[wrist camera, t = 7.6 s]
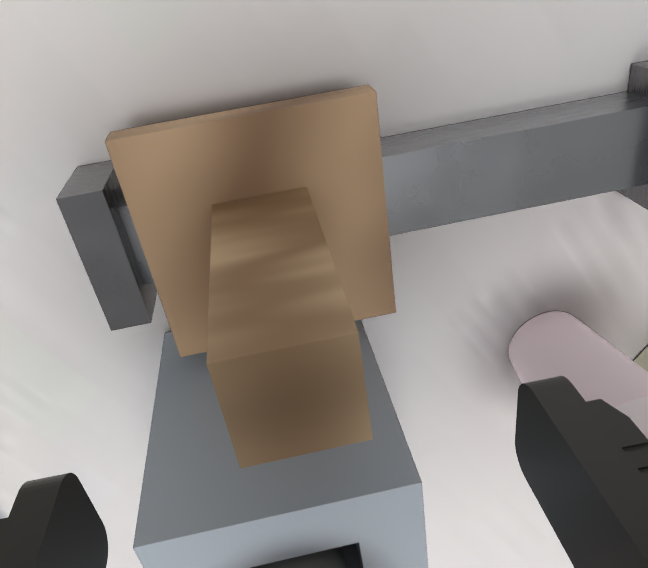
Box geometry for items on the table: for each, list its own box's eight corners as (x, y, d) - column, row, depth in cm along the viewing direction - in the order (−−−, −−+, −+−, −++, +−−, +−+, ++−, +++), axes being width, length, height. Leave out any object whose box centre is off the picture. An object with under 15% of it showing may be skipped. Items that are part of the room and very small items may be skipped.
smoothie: (592, 386, 29) (845, 684, 17) (474, 401, 29) (654, 724, 17) (622, 279, 26) (960, 557, 14) (490, 293, 25) (728, 600, 13)
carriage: (356, 73, 19) (482, 189, 10) (377, 274, 23) (479, 487, 14) (120, 116, 19) (20, 280, 9) (185, 313, 23) (160, 560, 14)
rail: (667, 57, 21) (729, 71, 18) (646, 182, 24) (697, 211, 21) (77, 166, 20) (56, 199, 17) (123, 287, 22) (111, 330, 20)
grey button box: (351, 294, 24) (421, 482, 16) (369, 427, 28) (433, 632, 20) (164, 332, 24) (133, 548, 15) (211, 462, 28) (206, 687, 19)
